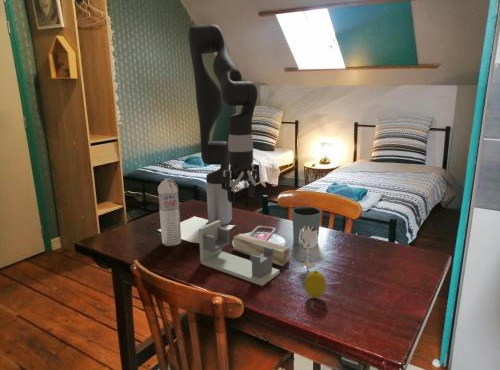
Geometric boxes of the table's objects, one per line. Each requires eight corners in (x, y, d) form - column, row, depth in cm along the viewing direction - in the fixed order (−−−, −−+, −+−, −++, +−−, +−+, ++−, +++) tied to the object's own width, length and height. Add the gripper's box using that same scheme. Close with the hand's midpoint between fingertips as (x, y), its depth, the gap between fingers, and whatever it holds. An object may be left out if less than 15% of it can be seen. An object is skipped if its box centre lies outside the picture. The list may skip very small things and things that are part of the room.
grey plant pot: (287, 245, 138) (288, 213, 135) (295, 235, 147) (296, 204, 144) (316, 250, 134) (317, 216, 131) (322, 238, 143) (324, 207, 140)
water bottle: (183, 239, 145) (179, 173, 138) (178, 247, 138) (173, 177, 132) (165, 238, 145) (160, 173, 139) (159, 246, 139) (153, 177, 132)
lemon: (302, 293, 108) (302, 266, 105) (322, 292, 108) (323, 265, 106) (306, 304, 102) (307, 276, 100) (327, 303, 103) (329, 275, 101)
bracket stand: (219, 253, 132) (218, 220, 129) (279, 273, 118) (279, 236, 115) (200, 263, 125) (198, 228, 122) (262, 286, 112) (262, 246, 108)
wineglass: (318, 261, 126) (319, 226, 122) (315, 270, 120) (316, 233, 117) (300, 259, 127) (301, 224, 124) (296, 267, 122) (297, 231, 119)
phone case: (263, 246, 139) (275, 230, 153) (263, 242, 139) (275, 227, 152) (243, 243, 142) (258, 228, 155) (243, 239, 141) (258, 225, 155)
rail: (241, 246, 138) (240, 233, 137) (289, 262, 126) (289, 247, 125) (233, 250, 135) (233, 236, 134) (282, 266, 123) (282, 251, 122)
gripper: (248, 144, 128) (249, 192, 132) (214, 150, 119) (216, 201, 123) (265, 147, 123) (265, 197, 127) (231, 153, 113) (232, 206, 117)
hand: (241, 199), depth 125 cm, fingers open, 8 cm apart
